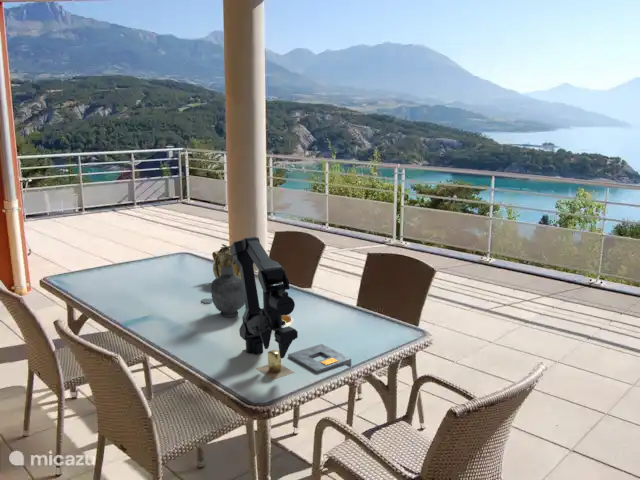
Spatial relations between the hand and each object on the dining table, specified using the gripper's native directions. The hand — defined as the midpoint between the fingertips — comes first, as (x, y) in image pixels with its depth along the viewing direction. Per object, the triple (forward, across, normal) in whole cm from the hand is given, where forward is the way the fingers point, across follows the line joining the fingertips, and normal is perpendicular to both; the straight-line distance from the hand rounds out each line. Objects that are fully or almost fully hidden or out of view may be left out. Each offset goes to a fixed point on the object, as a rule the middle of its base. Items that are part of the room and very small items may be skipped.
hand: (274, 353), depth 171 cm
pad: (+7, 0, 0) cm, 7 cm away
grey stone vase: (+7, -61, +15) cm, 63 cm away
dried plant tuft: (+7, -102, +38) cm, 109 cm away
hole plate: (+7, +2, +16) cm, 17 cm away
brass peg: (+6, 0, 0) cm, 6 cm away
